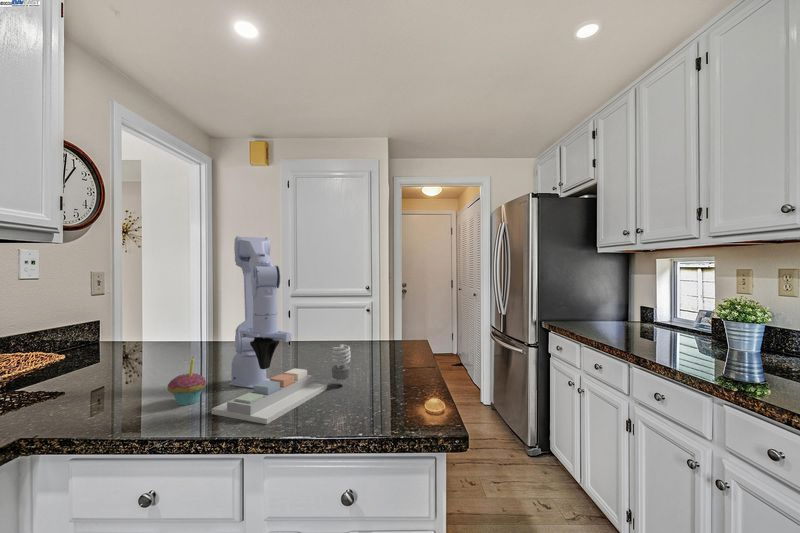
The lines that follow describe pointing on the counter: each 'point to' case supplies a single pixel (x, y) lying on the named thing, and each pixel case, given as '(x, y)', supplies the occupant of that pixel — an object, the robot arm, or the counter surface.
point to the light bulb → (341, 364)
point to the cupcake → (187, 387)
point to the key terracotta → (283, 380)
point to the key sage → (249, 398)
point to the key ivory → (297, 374)
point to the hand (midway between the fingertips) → (264, 368)
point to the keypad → (272, 402)
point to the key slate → (266, 387)
